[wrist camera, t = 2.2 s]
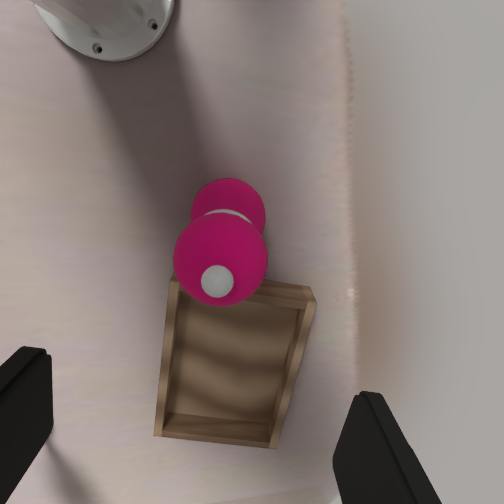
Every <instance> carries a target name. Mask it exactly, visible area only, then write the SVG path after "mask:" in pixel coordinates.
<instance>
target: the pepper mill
mask: <svg viewBox="0 0 504 504" xmlns="http://www.w3.org/2000/svg"><path fill="white" fill-rule="evenodd" d="M190 218H191V223H190V224H189V225H188V226H187V227H186V228H185V229H184V231H183V232H182V233H181V235H180V237H179V238H178V241H177V243H176V246H175V249H174V256H173V262H174V270H175V274H176V276H177V279H178V281H179V283H180V285H181V286H182V287H183V289H184V290H185V291H186V292H187V293H188V294H189V295H190V296H192V297H193V298H195V299H196V300H198V301H200V302H202V303H205V304H207V305H212V306H230V305H234V304H237V303H239V302H241V301H243V300H245V299H247V298H248V297H249V296H251V295H252V294H253V293H254V292H255V291H256V290H257V289H258V287H259V286H260V284H261V283H262V281H263V279H264V276H265V274H266V270H267V264H268V255H267V248H266V245H265V242H264V240H263V238H262V236H261V234H262V232H263V229H264V225H265V208H264V204H263V202H262V199H261V197H260V196H259V195H258V193H257V192H256V191H255V190H254V189H253V188H252V187H251V186H249V185H248V184H246V183H244V182H242V181H240V180H237V179H231V178H228V179H220V180H216V181H213V182H211V183H209V184H208V185H206V186H205V187H204V188H203V189H202V190H201V191H200V192H199V193H198V194H197V196H196V198H195V200H194V202H193V205H192V209H191V217H190Z"/></svg>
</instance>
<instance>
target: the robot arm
mask: <svg viewBox="0 0 504 504" xmlns="http://www.w3.org/2000/svg"><path fill="white" fill-rule="evenodd" d="M30 1H31V2H33V4H34V6H35V8H36V10H37V12H38V13H39V15H40V16H41V18H42V19H43V21H44V23H45V24H46V25H47V26H48V27H49V28H50V29H51V31H52V32H53V33H54V34H55V35H56V36H57V37H58V38H59V39H61V40H62V41H63V42H64V43H65V44H67V45H68V46H69V47H71V48H73V49H75V50H76V51H78V52H80V53H82V54H84V55H86V56H88V57H91V58H94V59H98V60H102V61H113V62H118V61H124V60H130V59H132V58H135V57H137V56H139V55H142V54H143V53H144V52H146V51H147V50H149V49H150V48H151V47H153V45H154V44H155V43H156V42H157V41H158V40H159V39H160V38H161V36H162V34H163V33H164V31H165V29H166V28H167V26H168V24H169V21H170V18H171V15H172V12H173V8H174V2H175V0H30ZM154 25H157V26H158V28H157V29H156V30H153V26H154ZM99 48H102V52H101V53H99ZM52 427H53V394H52V358H51V355H48V354H47V353H46V350H45V349H42V348H35V347H27V346H23V347H21V348H19V349H18V350H17V351H16V352H15V353H14V354H13V355H12V356H11V357H10V358H9V359H8V360H7V361H5V362H4V363H3V364H2V365H1V366H0V504H5V503H6V502H7V500H8V499H9V497H10V496H11V494H12V492H13V491H14V489H15V488H16V486H17V485H18V483H19V482H20V480H21V479H22V477H23V476H24V474H25V472H26V471H27V469H28V468H29V466H30V465H31V463H32V462H33V460H34V459H35V457H36V456H37V454H38V453H39V451H40V449H41V448H42V446H43V445H44V443H45V442H46V440H47V439H48V437H49V435H50V433H51V431H52ZM333 470H334V474H335V477H336V481H337V485H338V489H339V492H340V496H341V500H342V504H442V503H441V501H440V499H439V498H438V496H437V494H436V492H435V490H434V488H433V486H432V484H431V483H430V481H429V479H428V477H427V475H426V473H425V472H424V470H423V468H422V466H421V464H420V462H419V460H418V458H417V457H416V455H415V453H414V451H413V449H412V448H411V447H410V445H409V444H408V442H407V440H406V439H405V437H404V435H403V433H402V431H401V429H400V427H399V426H398V424H397V422H396V420H395V418H394V416H393V414H392V412H391V411H390V409H389V407H388V405H387V403H386V401H385V399H384V397H383V396H382V395H381V394H380V393H374V392H367V391H361V392H360V394H359V395H355V396H354V398H353V401H352V404H351V407H350V409H349V412H348V415H347V418H346V421H345V424H344V426H343V429H342V432H341V435H340V438H339V440H338V443H337V446H336V449H335V452H334V454H333Z"/></svg>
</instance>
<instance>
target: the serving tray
mask: <svg viewBox="0 0 504 504" xmlns="http://www.w3.org/2000/svg"><path fill="white" fill-rule="evenodd" d="M316 305H317V302H316V300H315V298H314V295H313V293H312V291H311V289H310V287H306V286H300V285H293V284H287V283H280V282H274V281H267V280H263V281H262V283H261V284H260V286H259V287H258V289H257V290H256V291H255V292H254V293H253V294H252V295H251V296H249V297H248V298H247V299H245V300H243V301H241V302H239V303H237V304H234V305H230V306H212V305H207V304H205V303H202V302H200V301H198V300H196V299H195V298H193V297H192V296H190V295H189V294H188V293H187V292H186V291H185V290H184V289H183V287H182V286H181V285H180V283H179V281H178V279H177V276H176V274H175V271H174V273H173V276H172V278H171V280H170V283H169V293H168V302H167V312H166V321H165V331H164V340H163V350H162V359H161V369H160V378H159V388H158V397H157V407H156V416H155V426H154V435H153V436H158V437H167V438H177V439H186V440H195V441H204V442H213V443H223V444H232V445H241V446H250V447H260V448H269V449H276V448H277V444H278V441H279V437H280V434H281V430H282V426H283V423H284V419H285V416H286V412H287V408H288V405H289V401H290V398H291V394H292V391H293V387H294V383H295V380H296V376H297V373H298V369H299V365H300V362H301V358H302V355H303V351H304V348H305V344H306V340H307V337H308V333H309V330H310V326H311V322H312V319H313V315H314V312H315V308H316Z"/></svg>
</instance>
